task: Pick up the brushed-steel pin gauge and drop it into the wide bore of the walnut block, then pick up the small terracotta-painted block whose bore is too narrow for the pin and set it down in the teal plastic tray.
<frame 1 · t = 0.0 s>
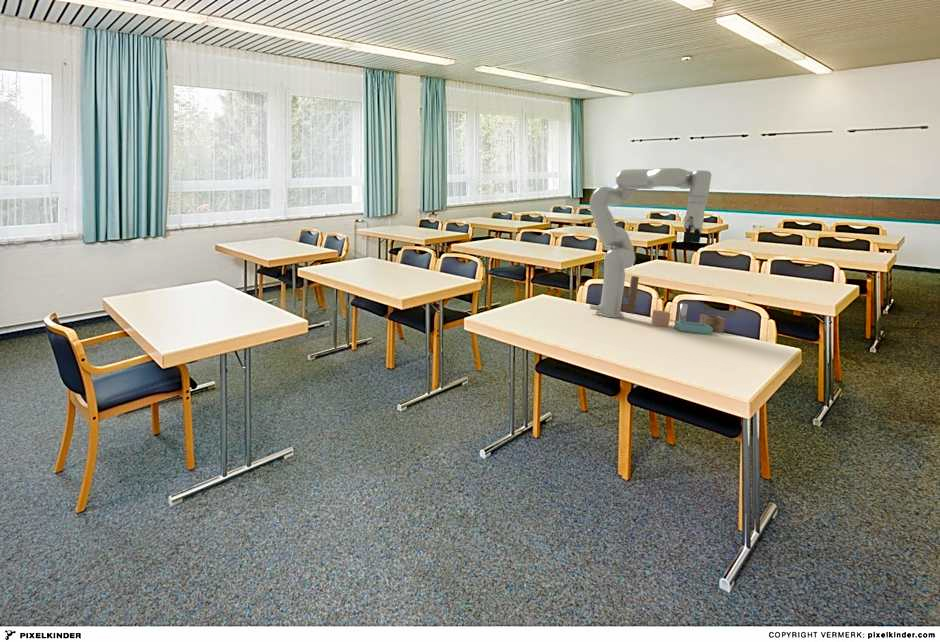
hand: (691, 242, 247), 37 cm above the table, tool pointing down, fingers open, 9 cm apart
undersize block: (659, 325, 258), on the table
brown block: (710, 330, 257), on the table
tray: (692, 331, 249), on the table
pin gauge: (680, 326, 260), on the table
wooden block: (623, 311, 292), on the table
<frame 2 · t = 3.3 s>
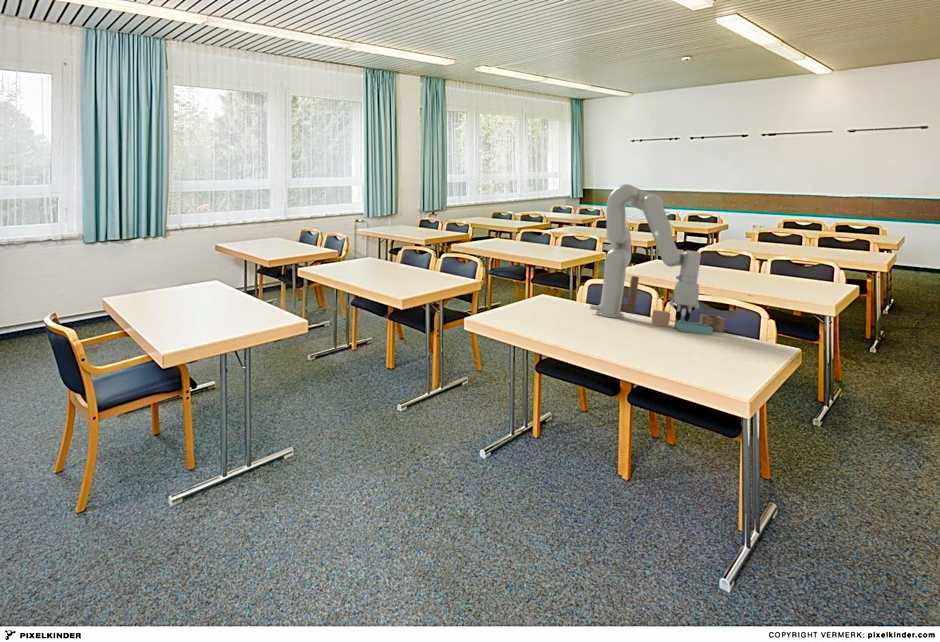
hand: (681, 320, 260), 3 cm above the table, tool pointing down, fingers closed on pin gauge, 3 cm apart
pin gauge: (680, 326, 260), on the table, touching gripper
everything else where it was.
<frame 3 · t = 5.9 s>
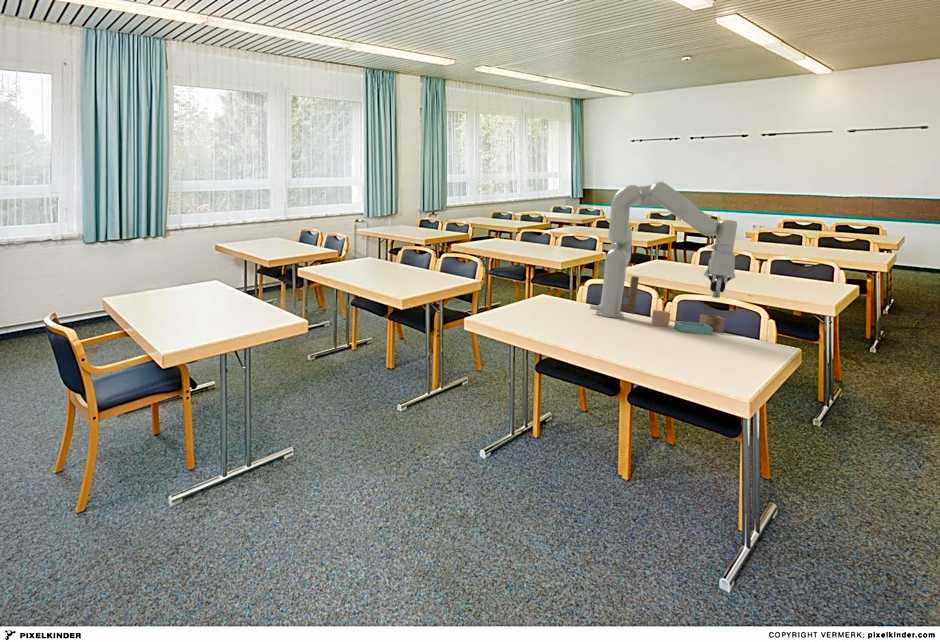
hand: (717, 291, 254), 17 cm above the table, tool pointing down, fingers closed on pin gauge, 3 cm apart
pin gauge: (716, 297, 254), point 15 cm above the table, touching gripper
everything else where it was.
when the fingers open (7 cm above the table, at t = 8.3 s): pin gauge drops 4 cm, resting in brown block.
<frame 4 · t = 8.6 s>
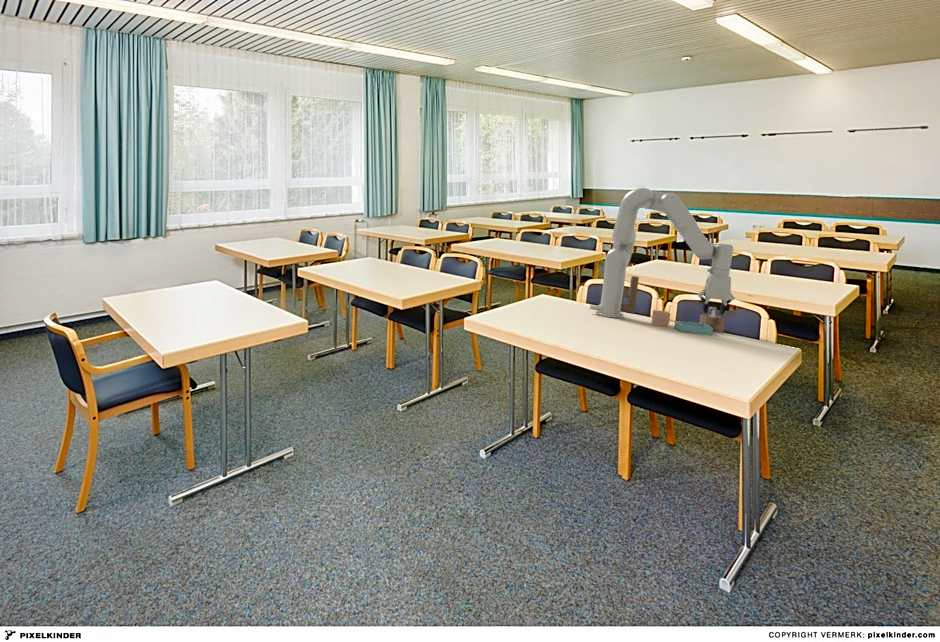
hand: (713, 313, 255), 8 cm above the table, tool pointing down, fingers open, 6 cm apart
pin gauge: (710, 330, 257), resting in brown block
everything else where it was.
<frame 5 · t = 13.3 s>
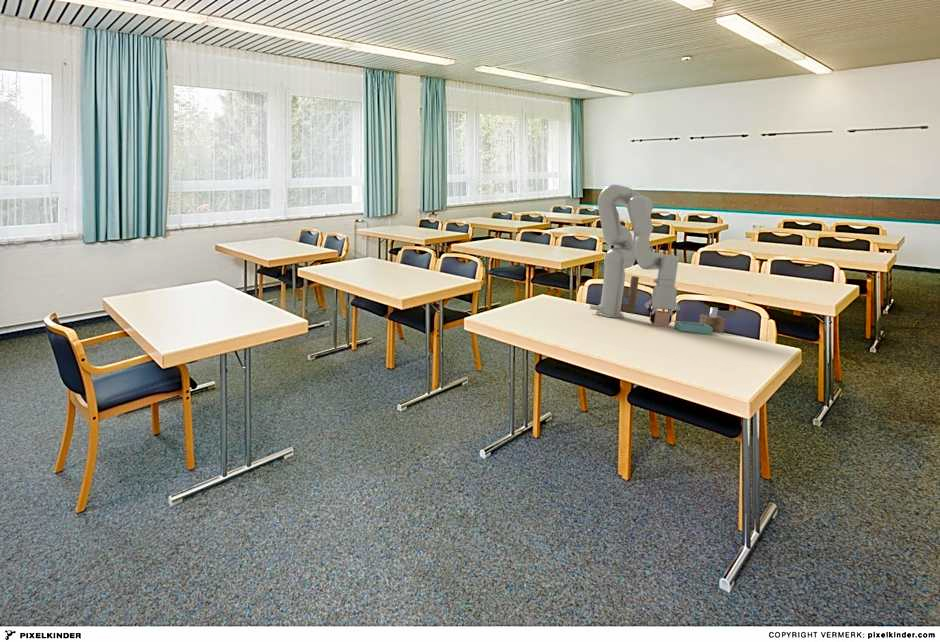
hand: (660, 323, 258), 1 cm above the table, tool pointing down, fingers closed on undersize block, 6 cm apart
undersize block: (659, 325, 258), on the table, touching gripper
everything else where it was.
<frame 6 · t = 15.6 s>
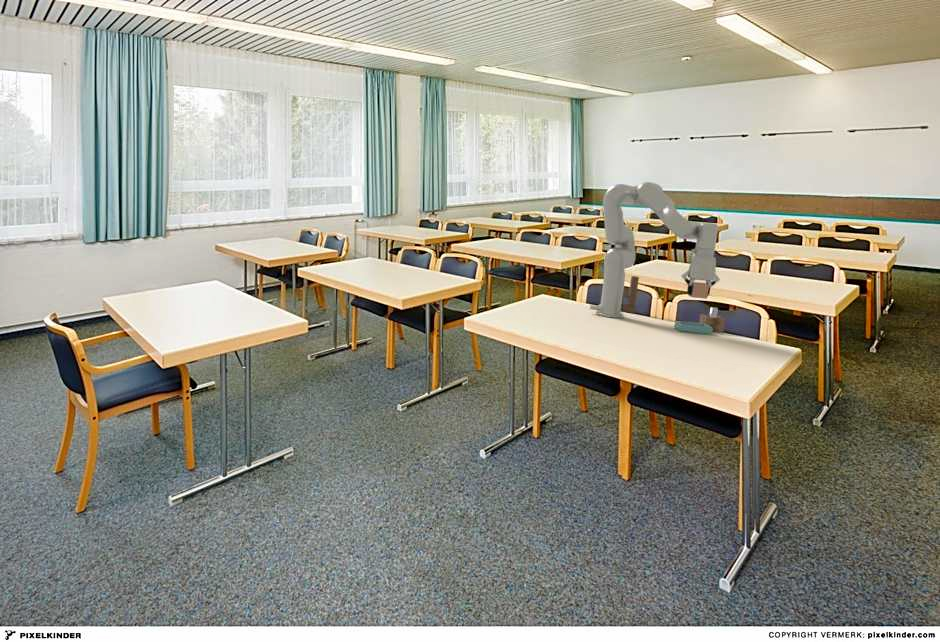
hand: (697, 295, 247), 16 cm above the table, tool pointing down, fingers closed on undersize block, 6 cm apart
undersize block: (697, 297, 247), point 15 cm above the table, touching gripper
everything else where it was.
when the fingers open (4 cm above the table, at t = 18.2 s): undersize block drops 2 cm, resting on tray.
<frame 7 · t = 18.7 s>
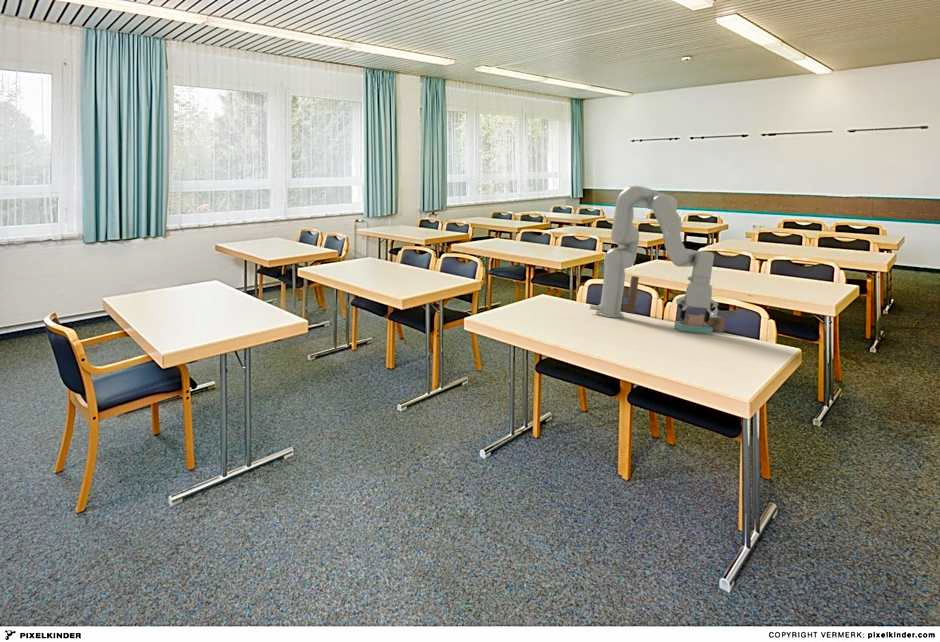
hand: (694, 320, 249), 5 cm above the table, tool pointing down, fingers open, 9 cm apart
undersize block: (692, 329, 249), point 1 cm above the table, touching tray
everything else where it was.
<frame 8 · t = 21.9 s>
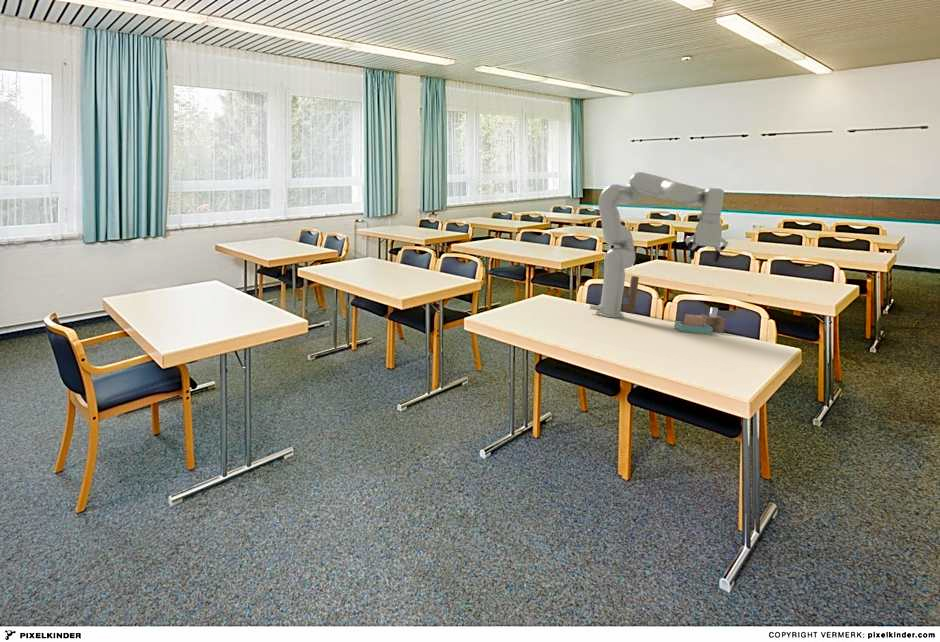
hand: (703, 260, 244), 30 cm above the table, tool pointing down, fingers open, 9 cm apart
nothing on the table moved.
at the end: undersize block inside the target area on the tray (0.2 cm from its centre), point 0.6 cm above the tray's base; pin gauge 0.1 cm off-centre on the brown block, point 0.0 cm above the brown block's base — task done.
